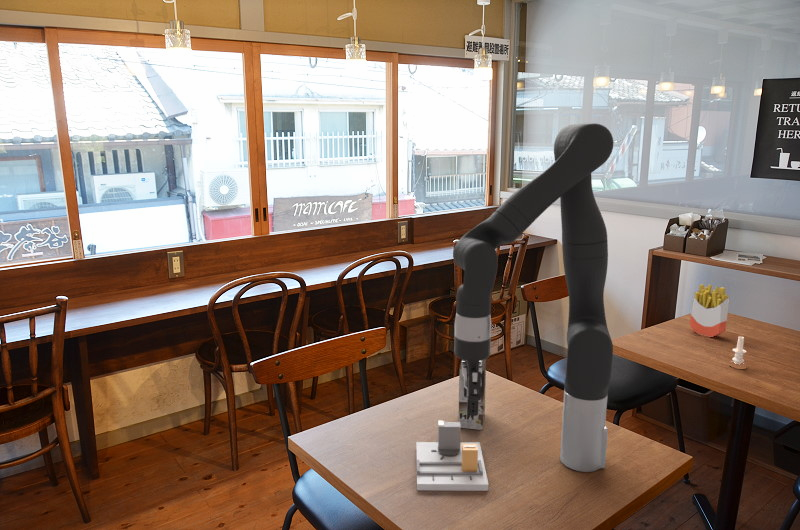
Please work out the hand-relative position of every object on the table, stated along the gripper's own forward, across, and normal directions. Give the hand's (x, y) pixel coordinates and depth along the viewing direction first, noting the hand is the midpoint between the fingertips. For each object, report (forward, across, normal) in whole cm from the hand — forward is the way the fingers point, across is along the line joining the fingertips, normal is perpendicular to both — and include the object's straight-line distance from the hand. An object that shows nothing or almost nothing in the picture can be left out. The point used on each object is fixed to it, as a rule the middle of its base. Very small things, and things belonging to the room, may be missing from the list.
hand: (470, 405), depth 128 cm
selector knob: (+15, +7, +4) cm, 17 cm away
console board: (+17, +3, +4) cm, 17 cm away
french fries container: (+16, +90, -94) cm, 131 cm away
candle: (+16, +61, -90) cm, 110 cm away
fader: (+15, 0, 0) cm, 15 cm away
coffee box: (+17, +25, -3) cm, 30 cm away
